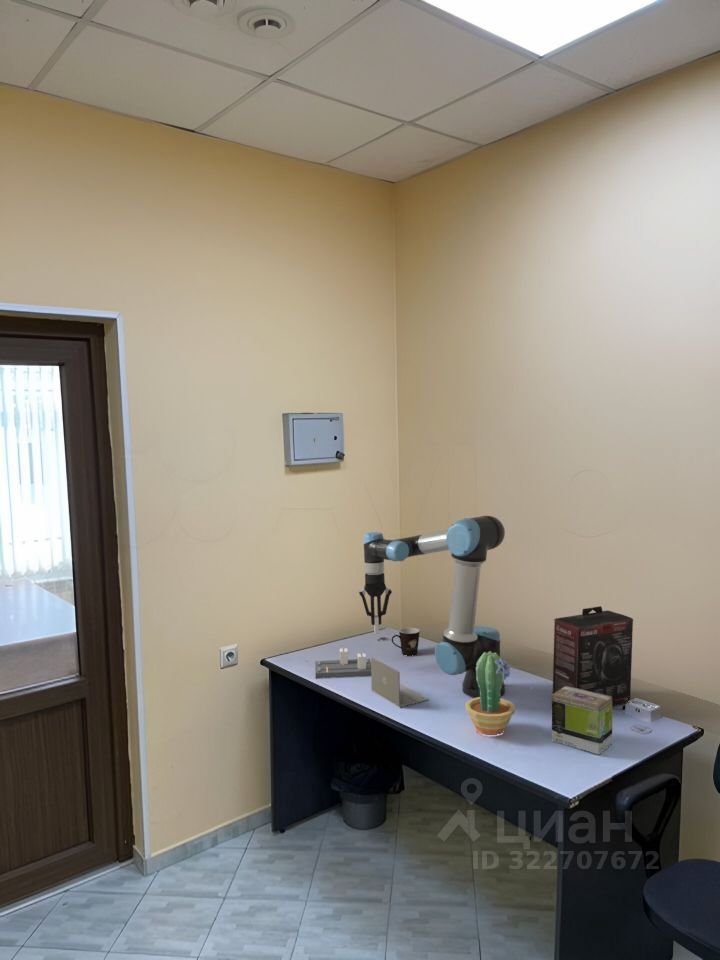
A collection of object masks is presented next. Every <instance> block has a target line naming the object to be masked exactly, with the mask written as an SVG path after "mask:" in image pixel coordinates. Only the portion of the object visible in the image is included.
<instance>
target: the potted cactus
mask: <svg viewBox="0 0 720 960" xmlns="http://www.w3.org/2000/svg"><path fill="white" fill-rule="evenodd" d="M476 666H477V667H476V677H477V683H478V686H479V688H480V697H477V698H474V697H473V698H470V699H469V700H467V702H465V703H464V706H465V710H466V712H467V715H469V718H470V720H471V722H472V724H473V725H474V727H475V729H476V730H477V732H479V733H481V734H485V735H497V734H501V733H503V731H505V728H506V727H507V725H508V724H509V722H510V720H511V718H512V717H513V715H514V714H515V710H516V707H515V705H514V704H513V702H511V701H509V700H507V699H505V698H501V697H500V693H501V688H502V685H503V681H505V680H506V678H510V674H511V673H510V672H511V666H510V665H509V663H508V662H507V661H506V660H504V659H503V658H501V656H500V657H499V656H498V655H497V653H492V652H491V651H489V652H488V653H486V652H484V653H483V654H482V656H481V657H480V658H479V660H478V662H477V664H476ZM476 730H475V731H476ZM477 732H476V733H477Z"/></svg>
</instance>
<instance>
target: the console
mask: <svg viewBox="0 0 720 960" xmlns="http://www.w3.org/2000/svg"><path fill="white" fill-rule="evenodd" d="M314 665H315V667H314V668H315V669H314V670H315V679H332V678H331V677H337V678H355V677H354V676H360V677H371V658H366V669H363V670H358V658H357V659H356V658H355V659H354V658H352V659H348V664H340V659H334V660H333V659H332V660H330V659H329V660H327V659H326V660H315V663H314ZM323 677H324V678H323Z"/></svg>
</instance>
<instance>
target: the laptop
mask: <svg viewBox="0 0 720 960" xmlns="http://www.w3.org/2000/svg"><path fill="white" fill-rule="evenodd" d="M370 661H371V676H370V679H371V681H370V682H371V685H370V686H371V692H372V693H374V694H375V695H377V696H378V697H380V698H382V699H383V700H386V701H387V702H388V703H390V704H392V705H393V704H394V705H393V706H395V705H396V706H395V707H397V706H398V707H402V708H404V707H403V706H406V707H408V706H409V705H410V706H412V704H413V705H416V704H419V702H420V703H422V702H425V701H429V698H428V697H426V696H424V695H422V694H421V693H419V692H416V691H414V690H413V689H411V688H410V687H408V686H406V685H404V684H402V683H400V682H401V681H400V678H401V677H400V671H399V670H397V669H395V668H393V667H391V666H389V665H387V664H386V663H385V662H384V663H383V662H382V661H380V660H378V659H376V658H374V657H370ZM415 703H416V704H415ZM407 705H408V706H407ZM398 707H397V708H398Z"/></svg>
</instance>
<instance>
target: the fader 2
mask: <svg viewBox="0 0 720 960" xmlns="http://www.w3.org/2000/svg"><path fill="white" fill-rule="evenodd" d="M357 659H358V670H363V669H366V659H367V655H366V653H365V652H364V653H363V652H361V653H357Z"/></svg>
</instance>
